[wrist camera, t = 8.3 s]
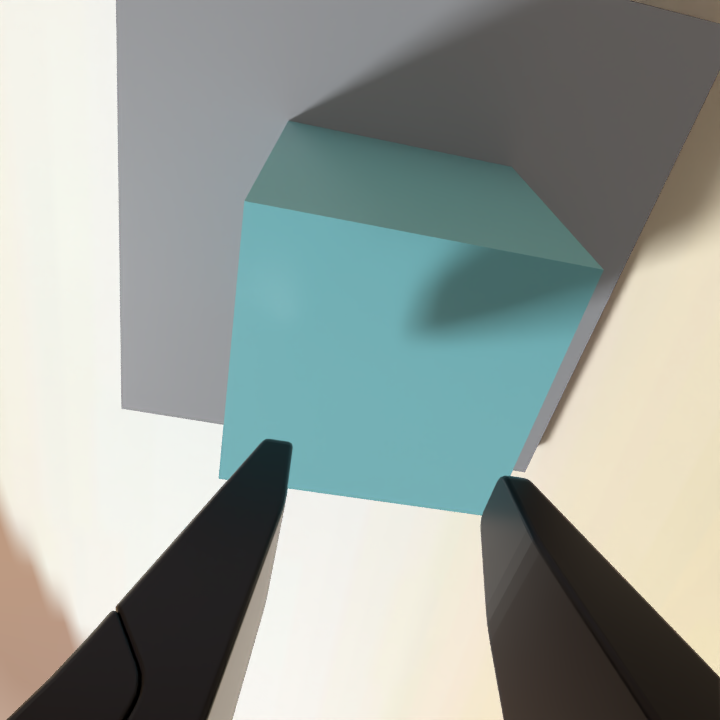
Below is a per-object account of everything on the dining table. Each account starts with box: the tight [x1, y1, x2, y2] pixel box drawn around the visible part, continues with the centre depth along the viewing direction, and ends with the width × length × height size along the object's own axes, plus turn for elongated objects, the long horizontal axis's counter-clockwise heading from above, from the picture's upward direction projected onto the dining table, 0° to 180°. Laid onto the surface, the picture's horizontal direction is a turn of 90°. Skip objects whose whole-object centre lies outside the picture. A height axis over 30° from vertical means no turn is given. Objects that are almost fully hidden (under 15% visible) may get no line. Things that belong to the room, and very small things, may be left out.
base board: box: [116, 0, 720, 472], centre depth 17 cm, size 14×14×1 cm
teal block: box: [219, 121, 604, 515], centre depth 13 cm, size 6×6×7 cm
